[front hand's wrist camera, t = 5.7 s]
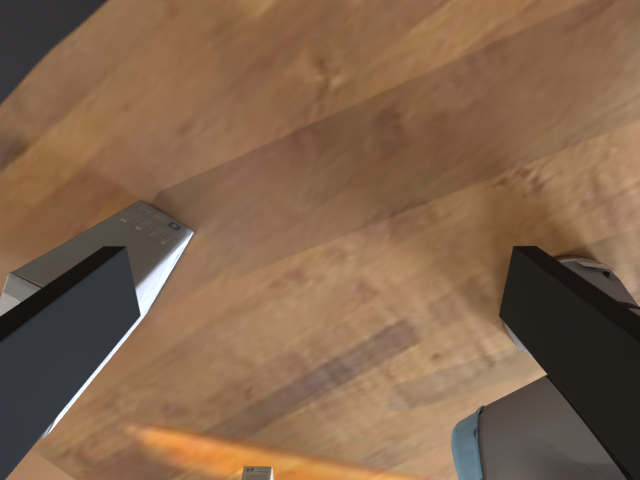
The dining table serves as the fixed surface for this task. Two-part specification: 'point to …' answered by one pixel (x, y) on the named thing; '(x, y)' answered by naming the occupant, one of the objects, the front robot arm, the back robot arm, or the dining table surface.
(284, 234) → the dining table surface
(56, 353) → the front robot arm
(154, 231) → the hard drive box
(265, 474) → the box
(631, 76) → the dining table surface
